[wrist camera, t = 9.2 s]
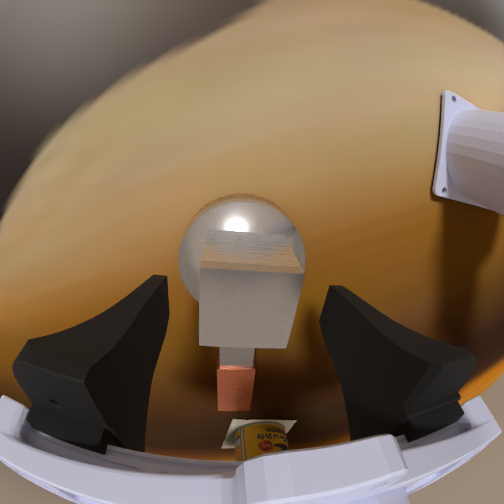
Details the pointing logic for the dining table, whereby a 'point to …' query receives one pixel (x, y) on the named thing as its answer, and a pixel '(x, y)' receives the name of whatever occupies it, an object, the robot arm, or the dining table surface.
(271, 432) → the condiment
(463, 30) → the dining table surface
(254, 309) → the brushed metal cube
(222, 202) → the metal scoop
